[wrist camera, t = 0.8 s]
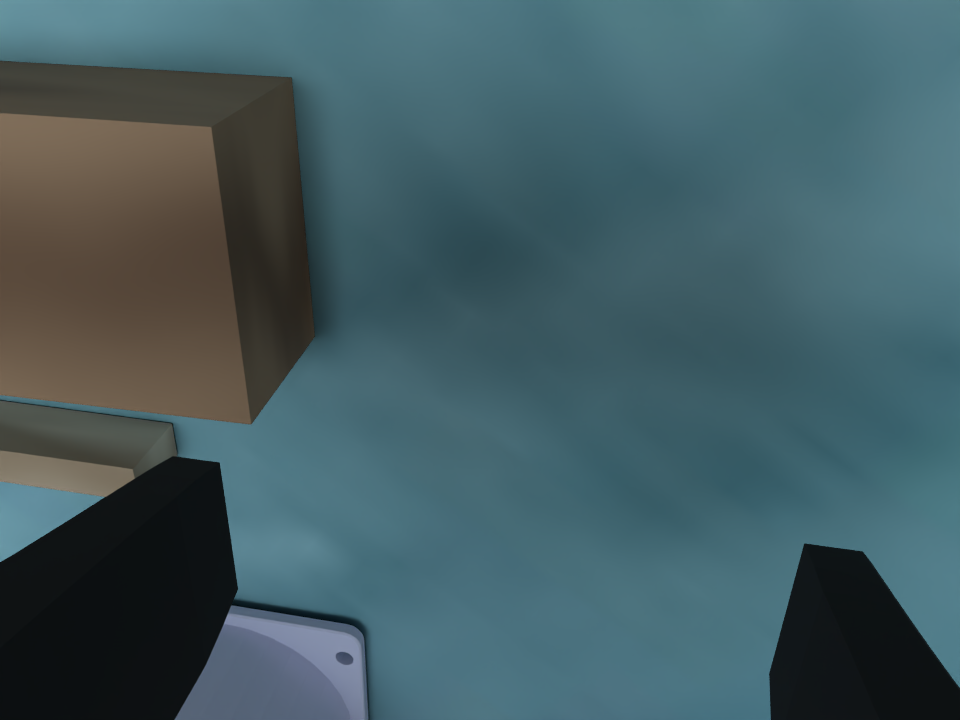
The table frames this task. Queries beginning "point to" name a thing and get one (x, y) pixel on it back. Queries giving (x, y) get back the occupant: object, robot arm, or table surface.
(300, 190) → the walnut block
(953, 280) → the table surface
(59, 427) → the open wooden frame
